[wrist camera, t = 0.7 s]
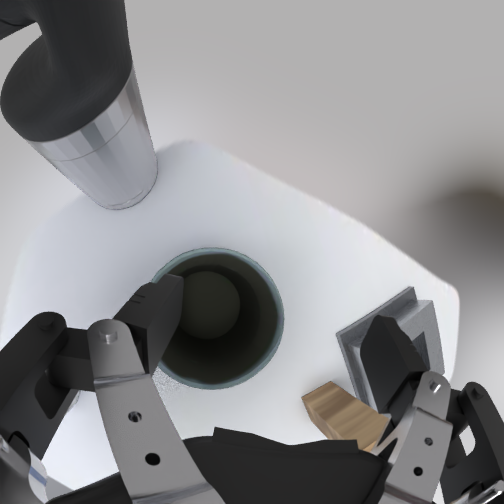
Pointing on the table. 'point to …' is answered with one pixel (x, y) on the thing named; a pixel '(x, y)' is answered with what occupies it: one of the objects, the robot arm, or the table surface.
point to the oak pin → (344, 416)
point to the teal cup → (222, 319)
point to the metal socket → (410, 321)
